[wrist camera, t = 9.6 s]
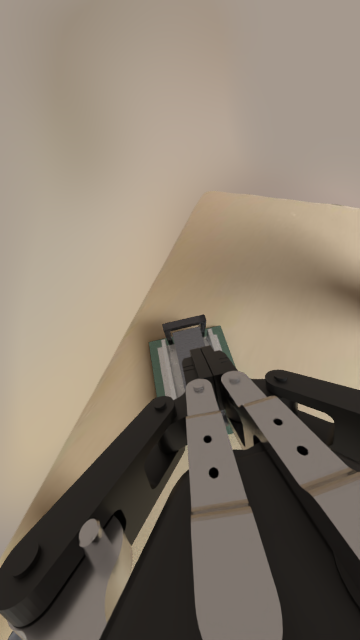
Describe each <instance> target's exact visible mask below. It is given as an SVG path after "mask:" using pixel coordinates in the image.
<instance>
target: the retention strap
mask: <svg viewBox="0 0 360 640" xmlns="http://www.w3.org/2000/svg"><path fill="white" fill-rule="evenodd" d="M172 334H173V339H174V343H175V348H176V352H177V357H178V361H179V366H180V370H181V375H182V379H183V384H184V388H185V391H186V382H185V377H184V372H183V367H182V361H183V359H184V358H188V357H191V355H190V350H191V349H196V348H200V347H204V346H205V343H204V340H203V337H202V333H201V330H200V327H195V328H191V329H187V330H182V331H178V332H174V333H172ZM218 408H219V407H218ZM221 414H222V417H223V420H224V424H225V427H226V426H229V424H228V420H227V417H226V414H225V411H224V410H222V411H221Z"/></svg>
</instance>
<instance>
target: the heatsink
mask: <svg viewBox="0 0 360 640" xmlns="http://www.w3.org/2000/svg"><path fill="white" fill-rule="evenodd" d="M162 325H163V330H164V333H165V336H166V338H165V339H161V340H156V341H152V342H149V347H150V354H151V361H152V367H153V374H154V381H155V387H156V394H157V397H160V396H169V397H171V398H172V399H173V400H175V399H176V398H178V397H180V396H181V395H182V394H183V393H184V392H185V388H184V384H183V379H182V375H181V370H180V366H179V361H178V357H177V352H176V348H175V343H174V339H173V337H172V336H171V332H170V331H173V330H178V329H182V328H186V327H191V326H195V325H199V327H200V330H201V333H202V337H203V340H204V343H205V346H209V345H211V347H212V348H213V350H214V351H218V350H220V351H222V352H224V353H225V354H226V355H227V357H228V358H229V359H230V361H231V362H232V363H233V365H234V366H235V364H234V362H233V359H232V356H231V353H230V351H229V348H228V345H227V343H226V340H225V337H224V334H223V332H222V329H221V326H216V327H212V328H208V329H205V327H206V318H205V315H200V316H195V317H191V318H187V319H182V320H178V321H174V322H169V323H165V324H162ZM235 368H236V367H235ZM224 411H225V410H224ZM225 414H226V411H225ZM226 417H227V414H226ZM228 424H229V423H228ZM226 430H227V434H232V433H233V431H232V429H231V427H230V425H229V426H226ZM187 445H188V444H187Z"/></svg>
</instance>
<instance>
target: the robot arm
mask: <svg viewBox="0 0 360 640" xmlns="http://www.w3.org/2000/svg"><path fill="white" fill-rule="evenodd" d="M190 355H191V357H188V358H184V359H183V361H182V367H183V372H184V377H185V382H186V391H185V392H184V393H183V394H182V395H181V396H180V397H178V398H176V399H175V400H173V399H172V398H171V397H169V396H160V397H157V398H155V399H153V400H152V401H151V402H150V403H149V404H148V405H147V406H146V407H145V408H144V409H143V410H142V411H141V412H140V413H139V415H138V416H137V417H136V418H135V419H134V420H133V421H132V422H131V423H130V424H129V425H128V426H127V427H126V428H125V429H124V431H123V432H122V433H121V434H120V435H119V436H118V437H117V438H116V439H115V440H114V441H113V442H112V443H111V444H110V446H109V447H108V448H107V449H106V450H105V451H104V452H103V453H102V454H101V455H100V456H99V457H98V458H97V459H96V460H95V462H94V463H93V464H92V465H91V466H90V467H89V468H88V469H87V470H86V471H85V472H84V473H83V474H82V475H81V477H80V478H79V479H78V480H77V481H76V482H75V483H74V484H73V485H72V486H71V487H70V488H69V489H68V490H67V491H66V493H65V494H64V495H63V496H62V497H61V498H60V499H59V500H58V501H57V502H56V503H55V504H54V505H53V506H52V508H51V509H50V510H49V511H48V512H47V513H46V514H45V515H44V516H43V517H42V518H41V519H40V520H39V521H38V522H37V524H36V525H35V526H34V527H33V528H32V529H31V530H30V531H29V532H28V533H27V534H26V535H25V536H24V537H23V539H22V540H21V541H20V542H19V543H18V544H17V545H16V546H15V547H14V549H13V550H12V551H11V552H10V554H9V555H8V557H7V558H6V560H5V561H4V563H3V565H2V566H1V568H0V614H1V615H2V616H3V617H4V618H5V619H7V621H8V624H9V626H10V628H11V629H12V630H13V631H14V632H15V633H16V634H17V635H18V636H19V637H20V638H21V639H23V640H360V390H357V389H353V388H349V387H346V386H342V385H338V384H334V383H330V382H327V381H323V380H319V379H315V378H311V377H307V376H304V375H300V374H296V373H292V372H288V371H284V370H272V371H269V372H268V373H267V374H266V375H265V379H250V378H249V377H248V376H247V375H246V374H245V373H243V372H240V371H238V370H237V369H236V368H235V366H234V365H233V363H232V362H231V361H230V359H229V358H228V357H227V355H226V354H225V353H224V352H222V351H220V350H218V351H214V350H213V348H212V347H211V345H209V346H204V347H200V348H196V349H191V350H190ZM298 403H299V404H302V405H305V406H307V407H310V408H313V409H316V410H318V411H321V412H324V413H326V414H328V415H329V416H330V417H331V418H332V419H333V420H334V423H331V422H328V421H325V420H323V419H320V418H317V417H315V416H312V415H310V414H307V413H305V412H302V411H299V410H298ZM218 407H219V408H218ZM222 410H225V411H226V414H227V420H228V423H229V425H230V427H231V429H232V431H233V433H234V435H235V437H236V438H237V440H238V442H239V444H240V446H241V448H242V450H232V447H231V444H230V440H229V437H228V434H227V430H226V427H225V424H224V420H223V417H222V414H221V411H222ZM187 444H188V460H189V470H188V471H186V472H185V473H184V474H183V475H182V476H181V478H180V479H179V480H178V481H177V483H176V485H175V486H174V488H173V489H172V491H171V493H170V495H169V497H168V499H167V501H166V503H165V506H164V508H163V510H162V512H161V514H160V516H159V518H158V520H157V522H156V524H155V526H154V528H153V530H152V532H151V534H150V536H149V538H148V540H147V542H146V545H145V547H144V549H143V551H142V553H141V555H140V557H139V559H138V561H137V563H136V565H135V567H134V569H133V571H132V573H131V575H130V572H131V568H132V561H133V553H132V547H131V546H132V544H133V542H134V540H135V539H136V537H137V535H138V533H139V531H140V530H141V528H142V526H143V524H144V523H145V521H146V519H147V517H148V515H149V514H150V512H151V510H152V508H153V507H154V505H155V503H156V501H157V499H158V498H159V496H160V494H161V492H162V490H163V489H164V487H165V485H166V483H167V482H168V480H169V478H170V476H171V474H172V473H173V471H174V469H175V467H176V466H177V464H178V462H179V460H180V458H181V457H182V455H183V453H184V451H185V446H186V445H187ZM129 576H130V577H129Z"/></svg>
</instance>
